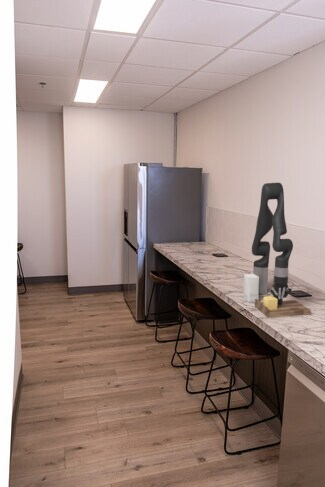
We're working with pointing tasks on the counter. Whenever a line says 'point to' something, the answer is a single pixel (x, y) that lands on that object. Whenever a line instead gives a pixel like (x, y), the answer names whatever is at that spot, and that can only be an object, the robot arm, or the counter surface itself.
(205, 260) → the counter surface
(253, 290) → the skincare box
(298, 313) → the box
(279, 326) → the counter surface
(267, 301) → the mustard block
